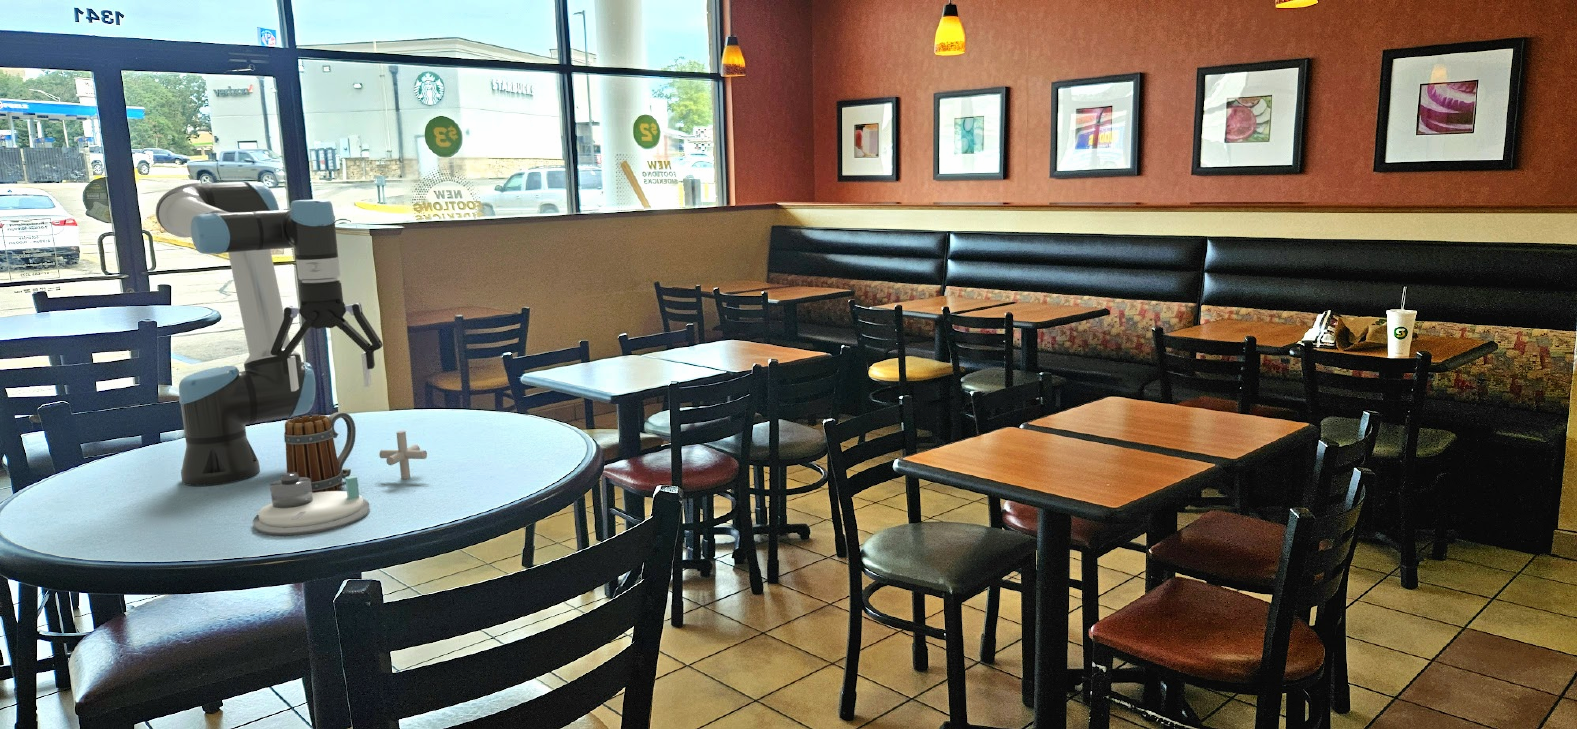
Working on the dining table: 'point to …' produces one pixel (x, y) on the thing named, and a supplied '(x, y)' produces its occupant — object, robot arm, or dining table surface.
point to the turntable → (316, 508)
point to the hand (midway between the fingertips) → (331, 387)
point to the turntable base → (312, 528)
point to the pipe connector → (403, 454)
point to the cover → (291, 491)
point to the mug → (318, 450)
